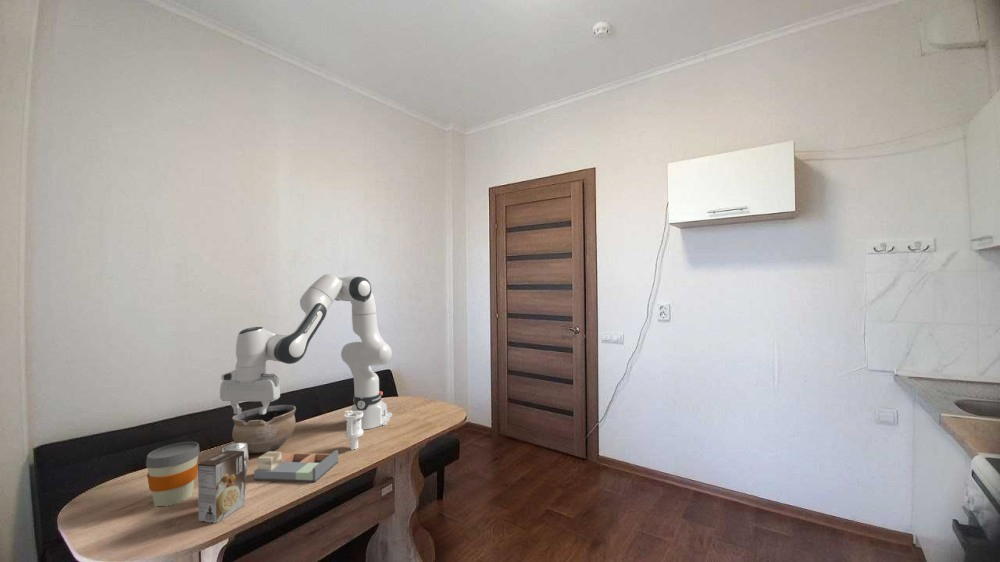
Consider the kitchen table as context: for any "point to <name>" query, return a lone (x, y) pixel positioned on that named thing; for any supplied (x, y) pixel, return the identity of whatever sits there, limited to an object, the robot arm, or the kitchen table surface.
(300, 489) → the kitchen table surface
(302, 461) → the board
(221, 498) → the coffee box
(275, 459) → the birch block
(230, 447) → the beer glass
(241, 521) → the kitchen table surface
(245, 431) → the ceramic bowl
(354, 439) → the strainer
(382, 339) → the robot arm
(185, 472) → the reusable coffee cup
